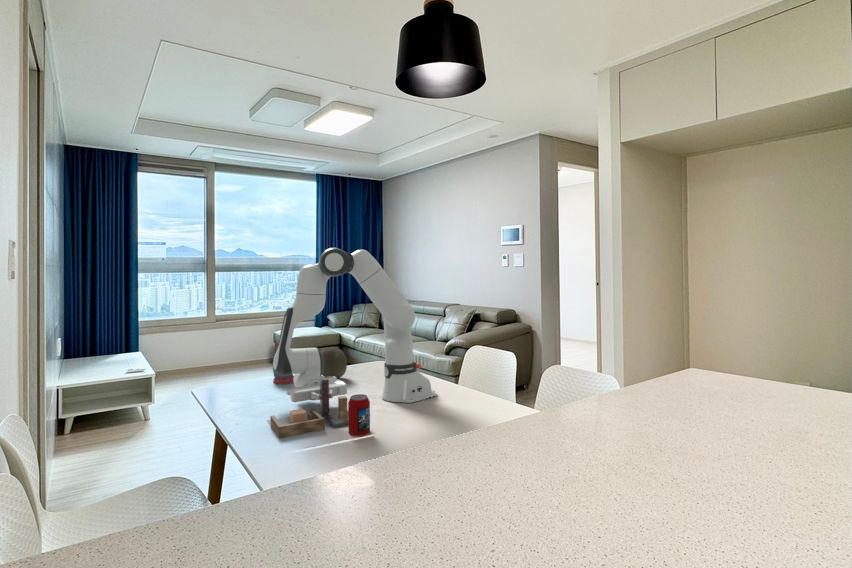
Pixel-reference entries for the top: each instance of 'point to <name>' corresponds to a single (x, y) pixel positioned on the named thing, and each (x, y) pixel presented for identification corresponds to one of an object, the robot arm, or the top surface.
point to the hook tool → (325, 405)
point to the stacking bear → (282, 379)
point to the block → (298, 416)
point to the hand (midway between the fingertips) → (325, 396)
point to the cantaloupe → (334, 362)
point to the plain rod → (342, 408)
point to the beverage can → (359, 415)
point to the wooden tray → (297, 425)
